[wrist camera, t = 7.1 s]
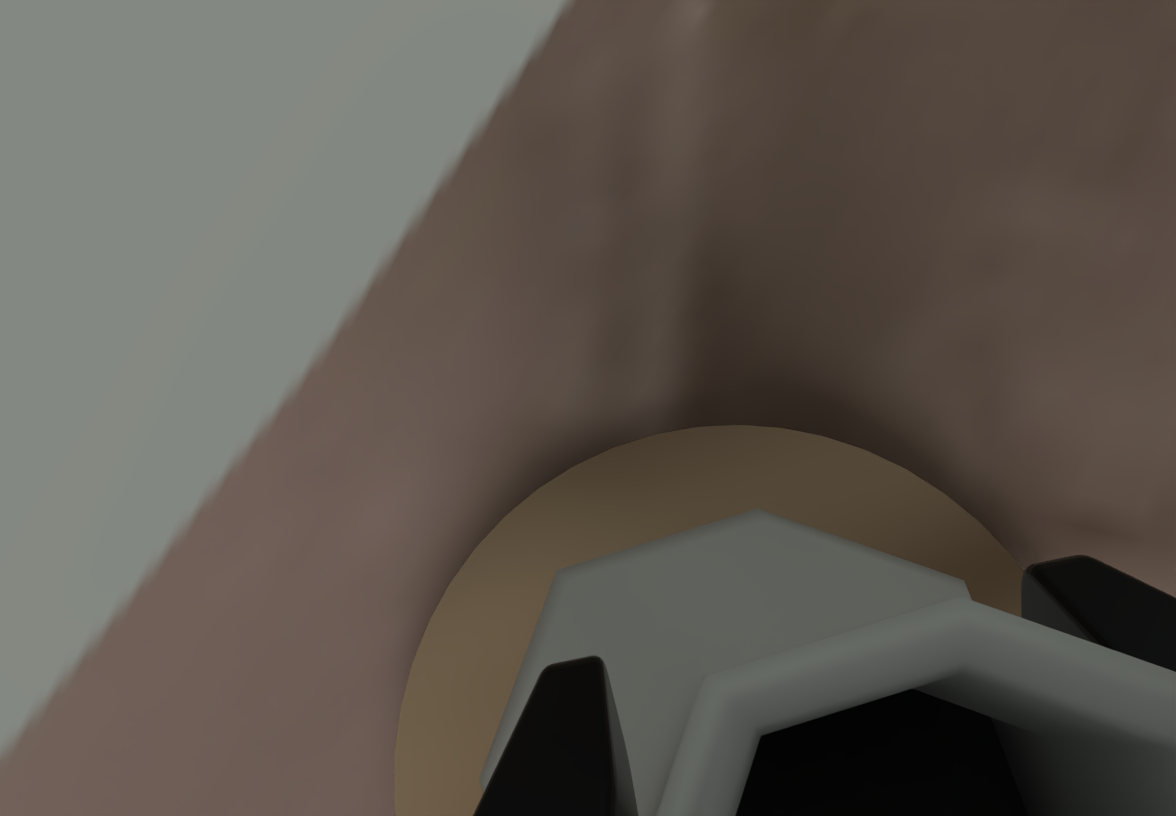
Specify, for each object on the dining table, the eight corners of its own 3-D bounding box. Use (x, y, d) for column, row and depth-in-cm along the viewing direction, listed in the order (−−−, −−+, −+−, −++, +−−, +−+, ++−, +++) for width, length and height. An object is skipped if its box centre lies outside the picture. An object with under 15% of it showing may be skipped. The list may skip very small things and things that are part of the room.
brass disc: (1227, 777, 19) (1261, 781, 18) (741, 1317, 18) (746, 1360, 17) (732, 319, 22) (736, 298, 21) (279, 749, 21) (256, 751, 20)
